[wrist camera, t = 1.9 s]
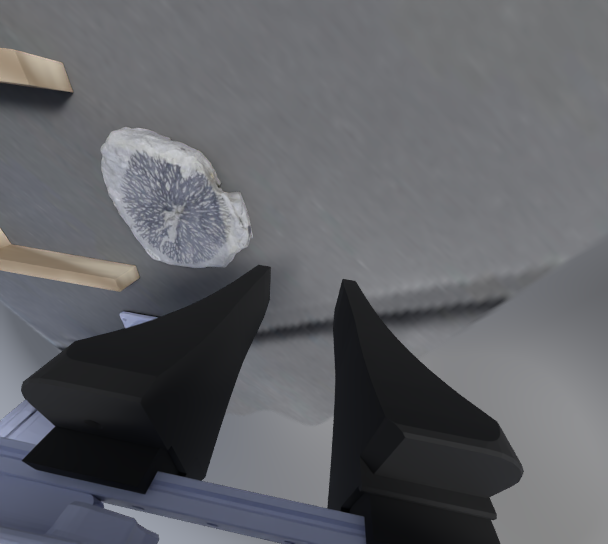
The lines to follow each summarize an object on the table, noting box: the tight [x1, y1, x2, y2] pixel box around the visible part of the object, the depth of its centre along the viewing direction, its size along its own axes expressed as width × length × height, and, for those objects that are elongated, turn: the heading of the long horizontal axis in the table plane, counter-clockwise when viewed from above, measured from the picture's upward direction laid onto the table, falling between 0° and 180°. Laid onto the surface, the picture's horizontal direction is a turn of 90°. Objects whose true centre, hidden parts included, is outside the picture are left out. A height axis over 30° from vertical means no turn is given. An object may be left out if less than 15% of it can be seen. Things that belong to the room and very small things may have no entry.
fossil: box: [101, 127, 253, 268], centre depth 17 cm, size 11×4×10 cm
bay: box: [0, 48, 140, 292], centre depth 18 cm, size 17×16×2 cm
